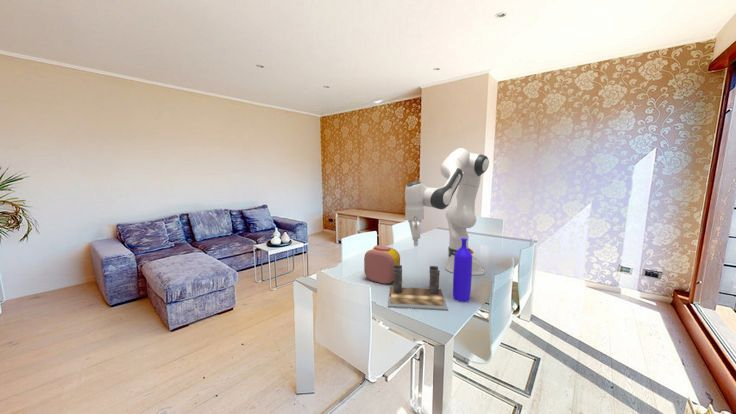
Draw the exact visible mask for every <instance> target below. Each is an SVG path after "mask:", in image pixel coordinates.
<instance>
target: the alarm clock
mask: <svg viewBox="0 0 736 414" xmlns="http://www.w3.org/2000/svg"><path fill="white" fill-rule="evenodd" d="M363 263H364V264H363V265H364V266H363V269H364V271H363V272H364V275H365V277H366V278H367V279H368V280H369V281H372V282H375V283H380V284H385V285H386V284H387V285H388V284H390V283H392V282H394V265H401V256H400V253H399V252H398V250H397V249H395V248H393V247H390V246H385V245H378V244H377V245H374V246H373V247H372V248H371V249H369V250H367V251H366V253H364V261H363Z"/></svg>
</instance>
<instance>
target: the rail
mask: <svg viewBox="0 0 736 414" xmlns="http://www.w3.org/2000/svg"><path fill="white" fill-rule="evenodd" d="M390 298H391V303H397V304H416V305H436V306H444V300H445V299H444V296H443V297H440V296H418V295H397V294H391V297H390Z"/></svg>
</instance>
